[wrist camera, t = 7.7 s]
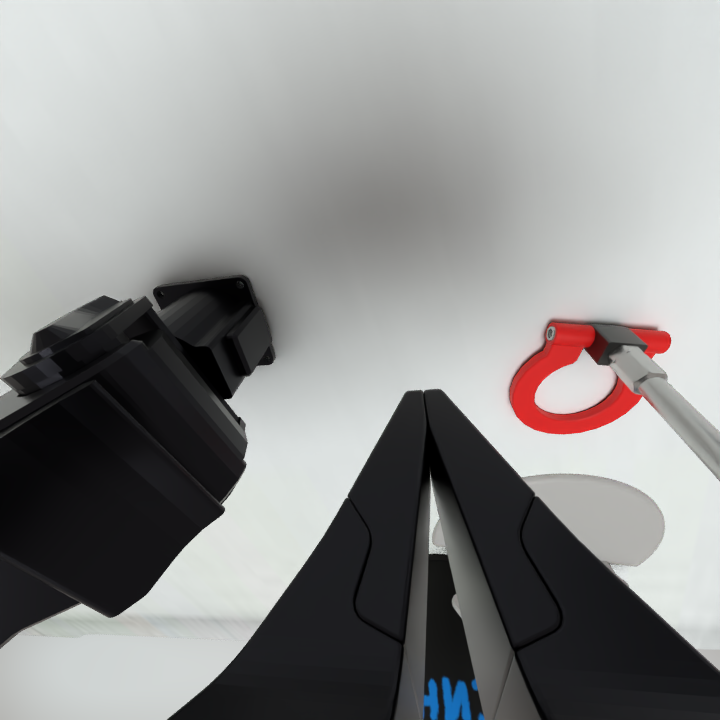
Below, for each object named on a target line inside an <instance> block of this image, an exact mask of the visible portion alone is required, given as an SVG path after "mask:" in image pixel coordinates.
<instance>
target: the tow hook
mask: <svg viewBox="0 0 720 720" xmlns="http://www.w3.org/2000/svg"><path fill="white" fill-rule="evenodd" d="M545 338H546V342H547V343H546V346H545V348H544V350H543V351H541V352H539V353H538V354H536V355H535V356H533V357H532V358H531V359H530V360H529V361H528V362H526V363H525V364H524V365H523V366H522V367H521V369H520V370H519V371H518V373H517V374H516V376H515V377H514V379H513V382H512V385H511V387H510V402H511V405H512V407H513V409H514V412H515V414H516V416H517V417H518V418H519V419H520V420H521V421H522V422H523V423H524V424H525V425H527V426H529V427H531V428H532V429H534V430H537V431H541V432H545V433H551V434H572V433H581V432H585V431H589V430H593V429H597V428H599V427H601V426H604V425H606V424H609V423H611V422H613V421H614V420H616V419H618V418H619V417H621V416H623V415H624V414H626V413H627V412H628V411H629V410H630V409H631V408H632V407H634V406H635V405H636V404H637V403H638V402H639V400H640V399H641V397H642V396H643V397H644V398H645V399H646V400H647V401H648V402H649V403H650V404H651V406H652V407H653V408H654V409H655V410H656V411H657V412H658V413H659V414H660V416H661V417H662V418H663V419H664V420H665V421H666V422H667V423H668V424H669V425H670V427H671V428H672V429H673V430H674V431H675V432H676V433H677V434H678V435H679V437H680V438H681V439H682V440H683V441H684V442H685V443H686V444H687V445H688V447H689V448H690V449H691V450H692V451H693V452H694V453H695V454H696V455H697V456H698V458H699V459H700V460H701V461H702V462H703V463H704V464H705V465H706V466H707V468H708V469H709V470H710V471H711V472H712V473H713V474H714V475H715V476H716V478H717V479H718V480H719V481H720V432H719V431H718V430H717V429H716V428H715V427H714V426H713V425H712V424H711V423H710V422H709V421H708V420H707V419H706V418H705V417H704V416H703V415H702V414H701V413H699V412H698V411H697V410H696V409H695V408H694V407H693V406H692V405H691V404H690V403H689V402H688V401H687V400H686V399H685V398H684V397H683V396H682V395H681V394H680V393H679V392H677V391H676V390H675V389H674V388H673V387H672V386H671V385H670V384H669V383H668V382H667V374H666V372H665V371H664V370H663V369H661V368H660V367H659V366H658V365H657V364H656V363H655V362H654V361H653V360H652V358H653V356H654V355H655V354H656V353H657V354H661V353H664V352H666V351H667V350H668V349H669V347H670V344H671V337H670V335H669V334H668V333H667V332H665V331H655V330H643V329H630V328H627V327H624V326H613V325H600V324H589V325H579V324H567V323H554V322H553V323H550V324H549V325H548V327H547V330H546V335H545ZM583 348H584V349H585V350H586V351H587V353H588V354H589V355H590V356H591V357H592V359H593V360H594V361H595V362H596V363H597V364H598V365H607V366H610V367H611V368H612V370H613V371H615V372H616V374H617V375H618V381H617V386H616V387H615V389H614V390H613V392H612V394H610V395H609V396H608V397H607V398H606V399H605V400H604V401H603V402H601V403H600V404H598V405H597V406H595V407H593V408H590V409H588V410H586V411H582V412H579V413H575V414H566V415H562V414H552V413H549V412H545V411H544V410H542V409H540V408H539V407H538V406H537V405H536V404H535V402H534V399H535V392H536V390H537V388H538V386H539V385H540V383H541V382H542V381H543V380H544V379H545V378H546V377H547V376H549V375H550V374H551V373H552V372H554V371H556V370H558V369H560V368H562V367H563V366H567V365H570V364H573V363H574V362H575V361H577V359H578V357H579V355H580V353H581V352H582V350H583Z"/></svg>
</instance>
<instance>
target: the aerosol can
mask: <svg viewBox="0 0 720 720" xmlns="http://www.w3.org/2000/svg"><path fill="white" fill-rule="evenodd" d="M455 594H456V590H455V585H454V581H453V576H452V572H451V568H450V563H449V559H448V556H446V555H428V586H427V616H426V647H425V678H424V709H423V720H485V719H484V715H483V710H482V706H481V701H480V697H479V692H478V688H477V683H476V679H475V675H474V670H473V666H472V661H471V657H470V652H469V648H468V643H467V639H466V634H465V630H464V625H463V621H462V618H461V617H460V616H459V614H458V613H457V612H456V610H455V609H454V607H453V605H452V599H453V596H454V595H455Z"/></svg>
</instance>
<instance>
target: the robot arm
mask: <svg viewBox="0 0 720 720" xmlns="http://www.w3.org/2000/svg"><path fill="white" fill-rule="evenodd" d="M238 281H241V282H242V283H243V284H244V287H242V286H240V285H239V283H238ZM161 292H163V293H164V295H165V296H164V295H162V294H161ZM153 294H154V297H155V299H156V301H157V302H158V304H159V306H160V308H161V311H160V312H158V313H157V314H156V312H155V311H154V310H153V309H152V306H153V305H152V304H151V302H150V301H149V300H148V299H147V297H146V296H143V297H141V298H139V299H136V300H134V301H132V299H131V298H130V299H128V300H125V301H117V300H114V299H112V298H109V297H107V296H102V297H99V298H97V299H95V300H93V301H91V302H89V303H87V304H85V305H83V306H81V307H79V308H77V309H76V310H74V311H72V312H70V313H68V314H66V315H64V316H62V317H60V318H59V319H57V320H55V321H54V322H52V323H50V324H48V325H47V326H45V327H43V328H42V329H40V330H38V331H37V332H35V333H33V337H32V343H31V348H30V351H29V352H27V353H26V354H25V355H23V356H22V357H21V358H20V359H19V361H18V362H17V363H16V364H15V365H14V366H13V367H12V368H11V369H9V370H8V371H7V372H6V373H5V374H4V375H3V376H2V377H1V378H0V379H1V380H2V381H4V382H5V383H6V384H7V385H8V386H10V387H11V388H12V390H11V391H9V392H7V393H6V394H4V395H2V396H1V397H0V649H1V647H3V646H4V645H5V644H6V643H7V642H9V641H10V640H11V639H12V638H13V637H15V636H16V635H17V634H18V633H19V632H21V631H23V630H25V629H27V628H29V627H31V626H33V625H36V624H38V623H40V622H42V621H44V620H47V619H49V618H51V617H53V616H55V615H57V614H60V613H62V612H64V611H66V610H68V609H71V608H73V607H75V606H77V605H79V604H81V603H82V604H84V605H86V606H88V607H90V608H92V609H93V610H95V611H97V612H99V613H101V614H103V615H105V616H106V617H109V618H111V617H115V616H117V615H119V614H120V613H122V612H123V611H125V610H126V609H127V608H129V607H130V606H132V605H133V604H134V603H136V602H137V601H139V600H140V599H142V598H143V597H144V596H145V595H146V594H147V593H148V592H149V591H150V590H151V588H152V587H153V586H154V585H155V583H156V582H157V581H158V579H159V578H160V577H161V576H162V574H163V573H164V572H165V570H166V569H167V568H168V567H169V565H170V564H171V563H172V561H173V560H174V559H175V558H176V557H177V555H178V554H179V553H180V552H181V551H182V549H183V548H184V547H185V546H186V545H187V544H188V543H189V542H190V541H191V540H192V539H193V538H194V537H195V536H196V535H197V534H198V533H199V532H201V531H202V530H203V529H204V528H205V527H207V526H208V525H209V524H211V523H212V522H213V521H215V520H216V519H217V518H219V517H220V516H221V515H222V514H223V513H224V511H225V508H224V507H223V506H222V503H223V502H224V501H225V500H226V499H227V498H228V497H229V495H230V494H231V492H232V491H233V489H234V488H235V486H236V484H237V483H238V481H239V480H240V478H241V476H242V474H243V473H244V471H245V468H246V462H245V461H244V460H243V459H244V457H245V452H246V448H247V444H248V442H247V438H246V434H245V425H246V424H245V422H244V421H243V420H242V419H241V417H237V415H236V414H235V413H234V411H233V410H232V409H231V408H230V406H229V405H228V404H227V403H226V401H225V400H224V399H230V398H232V396H233V395H234V393H235V392H236V390H237V389H238V387H239V385H240V384H241V382H242V381H243V379H244V378H245V376H250V375H251V374H252V372H253V371H254V369H255V368H256V366H260V365H270V364H272V363H273V362H274V360H275V353H274V351H273V348H272V345H271V342H272V338H271V335H270V332H269V329H268V326H267V323H266V320H265V317H264V314H263V311H262V309H261V308H260V307H259V306H258V304H257V301H256V298H255V296H254V293H253V290H252V287H251V284H250V281H249V280H248V278H247V277H245V276H243V275H237V276H229V277H221V278H213V279H206V280H198V281H190V282H182V283H175V284H167V285H160V286H158V287H156V288H155V289H154V290H153ZM265 356H268V357H269V358H270V359H268V358H266V357H265ZM430 474H431V480H430ZM431 481H432V487H433V492H434V496H435V501H436V505H437V510H438V514H439V518H440V523H441V527H442V532H443V536H444V541H445V545H446V550H447V554H448V559H449V563H450V568H451V572H452V576H453V581H454V585H455V590H456V594H457V599H458V603H459V608H460V612H461V617H462V621H463V625H464V630H465V634H466V639H467V643H468V648H469V652H470V657H471V661H472V666H473V670H474V675H475V679H476V683H477V688H478V692H479V697H480V701H481V706H482V710H483V715H484V719H485V720H720V671H719V670H718V669H717V668H716V667H715V666H714V665H713V664H711V663H710V662H709V661H708V660H707V659H706V658H705V657H704V656H703V655H702V654H701V653H699V652H698V651H697V650H696V649H695V648H694V647H693V646H692V645H691V644H690V643H689V642H688V641H687V640H685V639H684V638H683V637H682V636H681V635H680V634H679V633H678V632H677V631H676V630H675V629H674V628H672V627H671V626H670V625H669V624H668V623H667V622H666V621H665V620H664V619H663V618H662V617H661V616H659V615H658V614H657V613H656V612H655V611H654V610H653V609H652V608H651V607H650V606H649V605H648V604H647V603H645V602H644V601H643V600H642V599H641V598H640V597H639V596H638V595H637V594H636V593H635V592H634V591H632V590H631V589H630V588H629V587H628V586H627V585H626V584H625V583H624V582H623V581H622V580H621V579H620V578H618V577H617V576H616V575H615V574H614V573H613V572H612V571H611V570H610V569H609V568H608V567H607V566H606V565H605V564H604V563H603V562H602V561H600V560H599V559H598V558H597V557H596V556H595V555H594V554H593V553H592V552H591V551H590V550H589V549H588V548H587V547H586V546H585V545H584V544H583V543H582V542H581V541H580V540H579V539H578V538H577V537H576V536H575V535H574V534H573V533H572V532H571V531H570V530H569V529H568V528H567V527H566V526H565V525H564V524H563V523H562V522H561V520H560V519H559V518H558V517H557V516H556V515H555V514H554V513H553V512H552V511H551V510H550V509H549V508H548V506H547V505H546V504H545V503H544V502H543V501H542V500H541V499H540V497H538V496H535V492H534V491H533V490H532V489H531V488H530V487H529V486H528V485H527V483H526V482H525V481H524V480H523V479H522V478H521V477H520V476H519V475H518V473H517V472H516V471H515V470H514V469H513V468H512V467H511V466H510V465H509V464H508V462H507V461H506V460H505V459H504V458H503V457H502V456H501V455H500V454H499V452H498V451H497V450H496V449H495V448H494V447H493V446H492V445H491V444H490V443H489V441H488V440H487V439H486V438H485V437H484V436H483V435H482V434H481V433H480V432H479V430H478V429H477V428H476V427H475V426H474V425H473V424H472V423H471V422H470V420H469V419H468V418H467V417H466V416H465V415H464V414H463V413H462V412H461V411H460V409H459V408H458V407H457V406H456V405H455V404H454V403H453V402H452V401H451V399H450V398H449V397H448V396H447V395H446V394H445V393H444V392H443V391H442V390H441V389H430V390H425V391H424V393H423V391H422V390H414V391H407V392H406V393H405V394H404V396H403V398H402V399H401V401H400V403H399V405H398V406H397V408H396V410H395V412H394V414H393V415H392V417H391V419H390V421H389V422H388V424H387V426H386V428H385V430H384V431H383V433H382V435H381V437H380V438H379V440H378V442H377V444H376V446H375V447H374V449H373V451H372V453H371V454H370V456H369V458H368V460H367V462H366V463H365V465H364V467H363V469H362V471H361V472H360V474H359V476H358V478H357V479H356V481H355V483H354V485H353V487H352V488H351V490H350V492H349V494H348V498H346V499H345V500H344V502H343V504H342V506H341V508H340V509H339V511H338V513H337V515H336V516H335V518H334V520H333V521H332V523H331V525H330V526H329V528H328V530H327V531H326V533H325V534H324V536H323V538H322V539H321V541H320V542H319V544H318V545H317V547H316V548H315V549H314V551H313V552H312V554H311V555H310V557H309V558H308V560H307V561H306V563H305V564H304V565H303V567H302V568H301V570H300V571H299V572H298V574H297V575H296V577H295V578H294V579H293V581H292V582H291V583H290V585H289V586H288V588H287V589H286V590H285V592H284V593H283V595H282V596H281V597H280V599H279V600H278V601H277V603H276V604H275V606H274V607H273V608H272V610H271V611H270V612H269V614H268V615H267V617H266V618H265V619H264V621H263V622H262V624H261V625H260V626H259V628H258V629H257V630H256V632H255V633H254V635H253V636H252V637H251V639H250V640H249V641H248V643H247V644H246V645H245V647H244V648H243V649H242V650H241V651H240V653H239V654H238V655H237V656H236V658H235V659H234V660H233V661H232V662H231V663H230V664H229V665H228V666H227V667H226V669H225V670H224V671H223V672H222V673H221V674H220V675H219V676H218V677H216V678H215V679H214V681H212V682H211V683H210V684H209V685H208V686H207V687H206V688H205V689H203V690H202V691H201V692H200V693H199V694H197V695H196V696H195V697H194V698H193V699H191V700H190V701H189V702H188V703H187V704H185V705H184V706H183V707H182V708H181V709H179V710H178V711H177V712H176V713H174V714H173V715H172V716H171V717H170V718H168V719H167V720H423V709H424V678H425V647H426V616H427V586H428V555H429V524H430V493H431Z"/></svg>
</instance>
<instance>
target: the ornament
mask: <svg viewBox="0 0 720 720" xmlns="http://www.w3.org/2000/svg"><path fill="white" fill-rule="evenodd" d="M522 479H523V480H524V481H525V482H526V483H527V485H528V486H529V487H530V488H531V489H532V490H533V491H534V492H535V496H538V497H540V499H541V500H542V501H543V502H544V503H545V504H546V505H547V506H548V508H549V509H550V510H551V511H552V512H553V513H554V514H555V515H556V516H557V517H558V518H559V519H560V520H561V522H562V523H563V524H564V525H565V526H566V527H567V528H568V529H569V530H570V531H571V532H572V533H573V534H574V535H575V536H576V537H577V538H578V539H579V540H580V541H581V542H582V543H583V544H584V545H585V546H586V547H587V548H588V549H589V550H590V551H591V552H592V553H593V554H594V555H595V556H596V557H597V558H598V559H599V560H600V561H602V562H603V563H604V564H605V565H606V566H607V567H608V568H609V569H610V570H611V571H612V572H613V573H614V574H615V572H614V571H613V569H612V568H611V566H610V565H609V564H616V565H626V566H638V565H640V564H641V563H643V562H644V561H645V560H646V559H648V558H649V557H650V556H651V555H652V554H653V553H654V551H655V550H656V549H657V548H658V546H659V545H660V543H661V541H662V539H663V536H664V531H665V522H664V518H663V514H662V512H661V510H660V509H659V507H658V506H657V504H656V503H655V502H654V501H653V500H652V499H651V498H650V497H649V496H648V495H646V494H645V493H643V492H642V491H640V490H638V489H636V488H634V487H632V486H630V485H628V484H625V483H622V482H619V481H616V480H612V479H608V478H604V477H598V476H591V475H582V474H545V475H535V476H528V477H522ZM432 542H433V544H434V545H435V546H438V547H446V545H445V541H444V536H443V532H442V527H441V523H440V519H439V520H438V522H437V524H436V526H435V528H434V531H433V536H432ZM615 575H616V574H615ZM616 576H617V575H616ZM617 577H618V576H617ZM618 578H620V577H618ZM620 579H621V578H620ZM621 580H622V579H621ZM622 581H623V582H624V583H625V584H626V585H627V586H628V587H629V585H628V584H627V583H626V582H625V581H624V580H622ZM452 605H453V607H454V609H455V610H456V612H457V613H458V614H459V616H460V617H461V612H460V608H459V603H458V599H457V594H455V595H454V596H453V599H452ZM461 618H462V617H461Z"/></svg>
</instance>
